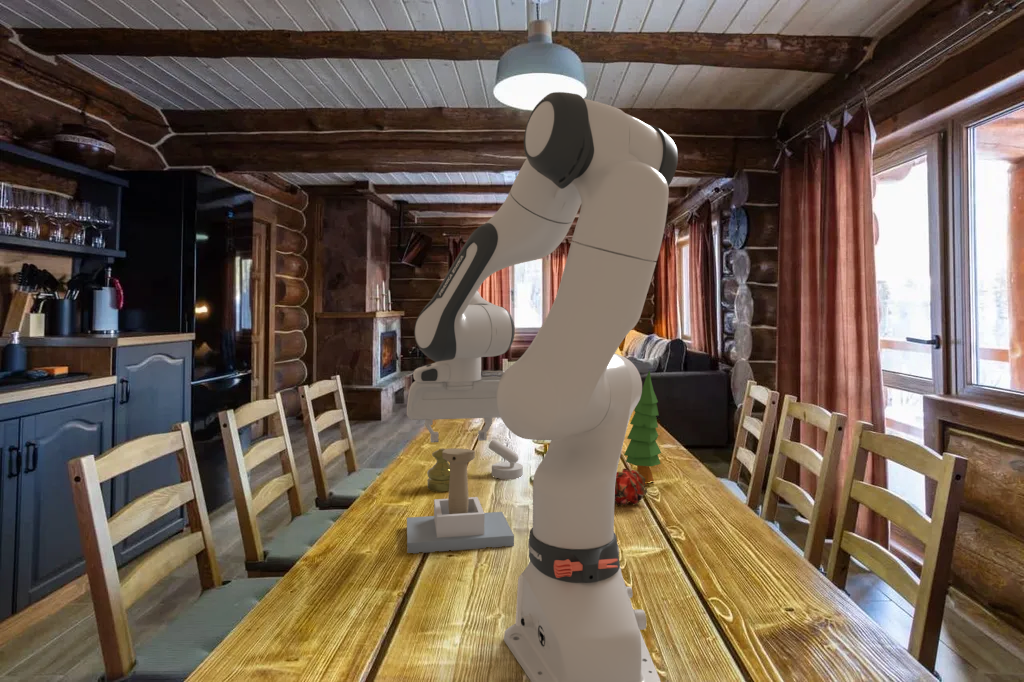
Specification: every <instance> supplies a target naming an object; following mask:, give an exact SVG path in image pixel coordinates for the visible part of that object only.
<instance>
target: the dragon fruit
mask: <svg viewBox="0 0 1024 682" xmlns="http://www.w3.org/2000/svg"><path fill="white" fill-rule="evenodd" d="M645 485H646V484H645V478H644V477H643V476H642V475H640V474H639V473H638V471H637V469H632V470H629V469H628V468H623V469H622V472H621V471H617V474H616V482H615V504H616V506H624V505H629V504H630V503H631V504H632V503H633V504H635V505H637V504H638V503H640V501H641V500H642V499H643V498H644V496H645V495H646V494H647V493H648V491H647V490H646V489H645ZM623 504H624V505H623ZM633 504H632V505H633Z"/></svg>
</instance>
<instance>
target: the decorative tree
mask: <svg viewBox="0 0 1024 682" xmlns="http://www.w3.org/2000/svg"><path fill="white" fill-rule="evenodd" d="M658 402H659V401H658V399H657V395H656V393H655V391H654V386H653V383H652V377H651V370H648V372H647V375H646V377H645V379H644V382H643V384H642V394H641V398H640V400H639V402H638V404H637V406H636V407H635V409H634V411H633V412H635V413H634V414H633V417H632V419H631V420H630V423H629V424H630V425H632V427H631V429H630V431H629V434H628V435H627V438H626V439H628V440H630V441H629V444H628V445H627V448H626V449H625V451H624V454H623V455H624V456H627V457H626V460H625V462H626V463H627V464H628V463H629V464H631V465H633V466H636V467H637V469H636V471H638V473H639V474H640V475H642V476H643V477H644V478H645V482H650V481H654V476H653V472H652V469H651V467H655V466H658V465H661V464H662V463H661V461H660V457H659V455H660V454H662V451H661V449H660V447H659V445H658V442H657V440H658V438H659V434H658V431H657V428H659V424H658V420H657V416H659V410H658V409H659V408H658V405H657V403H658ZM654 482H655V481H654Z"/></svg>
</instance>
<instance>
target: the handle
mask: <svg viewBox="0 0 1024 682" xmlns="http://www.w3.org/2000/svg"><path fill="white" fill-rule="evenodd" d="M444 449H445V450H443V451H442V456H443V458H444V459H445V460H447V462H448V463H449V465H450V482H449V491H448V498H447V499H448V505H449V514H461V513H468V503H469V501H468V500H469V498H468V497H469V483H468V481H469V480H468V463H470V462H471V461H473V460H474V459H475V457H476V451H475V450H474V449H469V448H459V447H458V448H457V447H455V448H453V447H452V448H444Z"/></svg>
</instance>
